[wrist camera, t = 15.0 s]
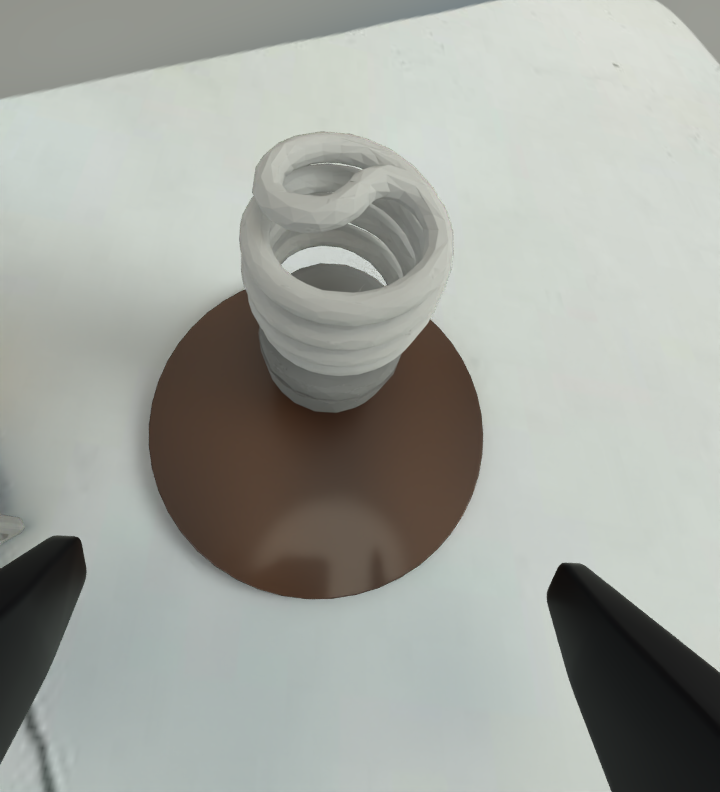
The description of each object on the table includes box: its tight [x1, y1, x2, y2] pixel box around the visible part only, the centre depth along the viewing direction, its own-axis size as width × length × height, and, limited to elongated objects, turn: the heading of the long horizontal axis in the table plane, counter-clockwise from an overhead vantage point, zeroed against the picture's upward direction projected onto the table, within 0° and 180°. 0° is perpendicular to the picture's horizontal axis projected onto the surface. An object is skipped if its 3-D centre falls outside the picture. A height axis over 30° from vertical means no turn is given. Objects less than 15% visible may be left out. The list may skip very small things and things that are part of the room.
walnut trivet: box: [149, 289, 483, 599], centre depth 21 cm, size 15×15×1 cm
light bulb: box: [239, 132, 453, 413], centre depth 15 cm, size 6×6×12 cm
